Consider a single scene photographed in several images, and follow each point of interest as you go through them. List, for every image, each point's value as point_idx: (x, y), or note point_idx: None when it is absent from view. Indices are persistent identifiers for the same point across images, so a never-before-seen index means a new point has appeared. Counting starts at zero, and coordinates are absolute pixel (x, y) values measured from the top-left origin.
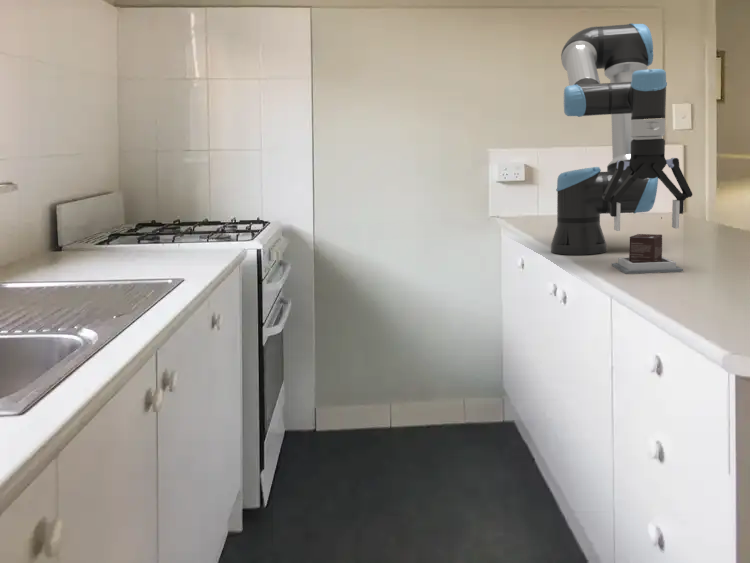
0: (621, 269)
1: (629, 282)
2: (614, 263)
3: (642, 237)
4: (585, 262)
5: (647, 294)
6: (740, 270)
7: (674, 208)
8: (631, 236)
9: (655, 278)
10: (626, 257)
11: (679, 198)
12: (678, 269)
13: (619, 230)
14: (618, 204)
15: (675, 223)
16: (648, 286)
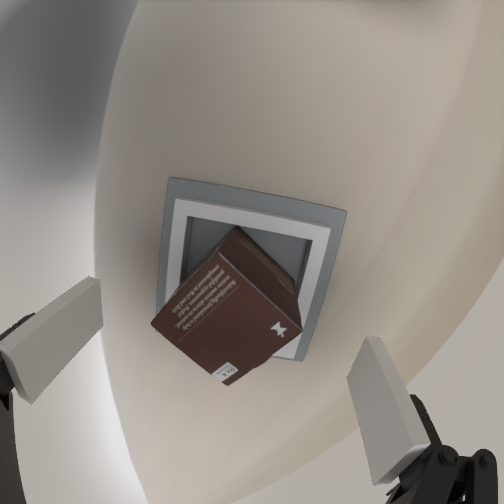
0: (157, 293)
1: (141, 402)
2: (174, 187)
3: (191, 358)
4: (133, 87)
5: (147, 458)
6: (413, 372)
7: (378, 431)
8: (159, 319)
9: (200, 396)
10: (203, 206)
11: (394, 491)
12: (290, 359)
13: (100, 326)
14: (27, 395)
15: (352, 390)
16: (162, 434)
